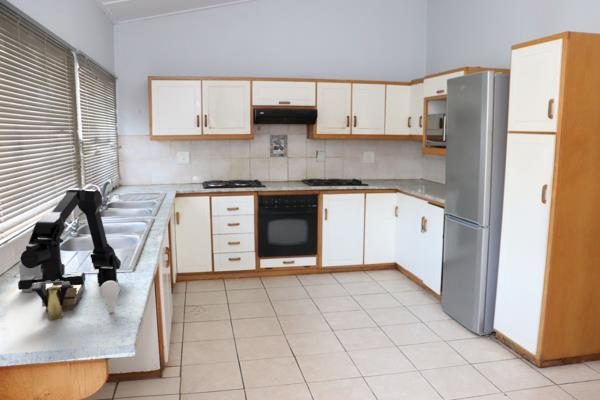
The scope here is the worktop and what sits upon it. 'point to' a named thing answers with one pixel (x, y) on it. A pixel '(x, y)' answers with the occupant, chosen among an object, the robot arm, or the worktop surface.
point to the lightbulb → (110, 294)
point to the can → (29, 273)
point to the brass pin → (54, 303)
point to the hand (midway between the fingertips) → (54, 306)
